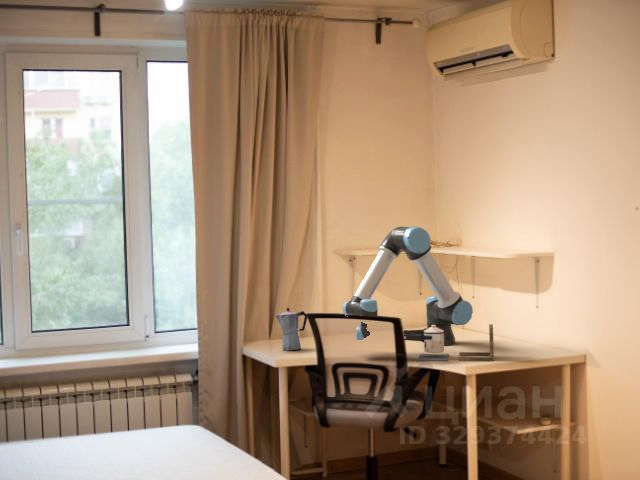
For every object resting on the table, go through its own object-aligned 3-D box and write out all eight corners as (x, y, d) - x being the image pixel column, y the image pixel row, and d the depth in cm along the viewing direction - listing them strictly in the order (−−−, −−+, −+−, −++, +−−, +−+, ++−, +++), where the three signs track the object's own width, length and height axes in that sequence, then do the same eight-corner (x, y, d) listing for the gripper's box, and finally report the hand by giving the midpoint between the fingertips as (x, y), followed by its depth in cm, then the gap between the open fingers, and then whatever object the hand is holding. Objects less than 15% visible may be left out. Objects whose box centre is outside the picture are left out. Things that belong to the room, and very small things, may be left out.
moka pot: (275, 348, 414) (274, 307, 413) (307, 347, 415) (306, 305, 414) (276, 351, 404) (275, 309, 403) (309, 350, 405) (307, 308, 405)
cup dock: (459, 355, 380) (458, 324, 379) (493, 355, 377) (492, 324, 376) (458, 360, 367) (457, 328, 366) (493, 361, 364) (493, 328, 364)
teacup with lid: (426, 349, 382) (425, 323, 382) (446, 350, 379) (445, 324, 379) (420, 353, 371) (420, 326, 371) (441, 354, 368) (440, 327, 368)
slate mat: (419, 355, 383) (419, 354, 383) (448, 355, 381) (448, 354, 381) (417, 360, 370) (417, 359, 370) (447, 361, 367) (447, 359, 367)
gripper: (394, 339, 390) (441, 339, 386) (388, 348, 366) (439, 348, 362) (393, 322, 390) (441, 323, 386) (388, 330, 366) (439, 330, 362)
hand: (440, 335), depth 374 cm, fingers closed on teacup with lid, 12 cm apart
